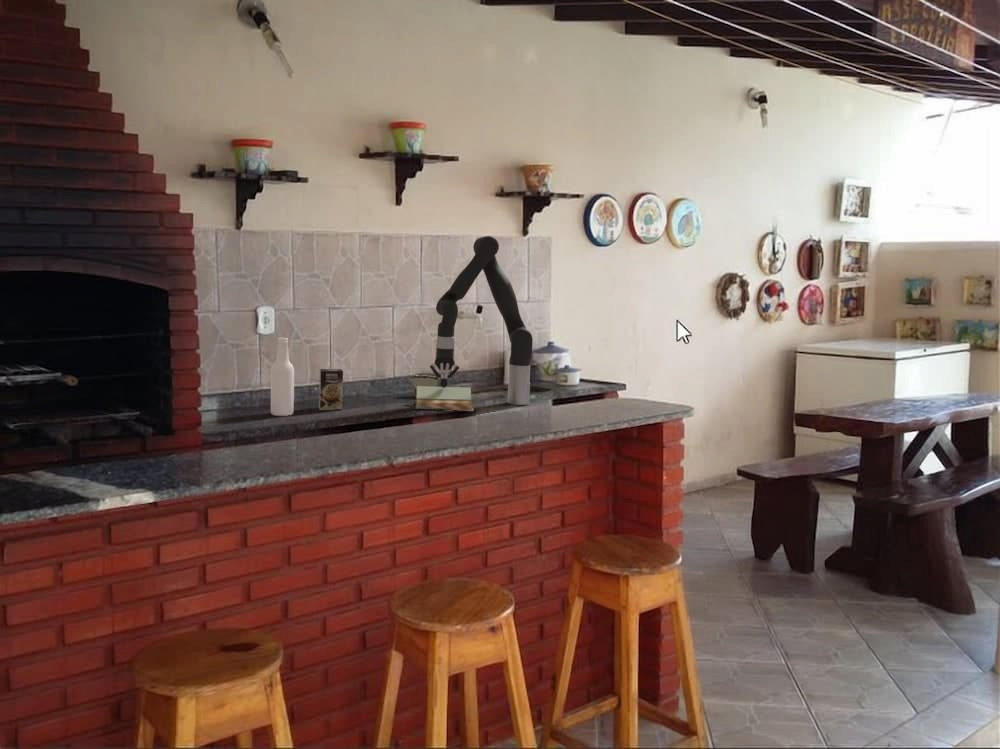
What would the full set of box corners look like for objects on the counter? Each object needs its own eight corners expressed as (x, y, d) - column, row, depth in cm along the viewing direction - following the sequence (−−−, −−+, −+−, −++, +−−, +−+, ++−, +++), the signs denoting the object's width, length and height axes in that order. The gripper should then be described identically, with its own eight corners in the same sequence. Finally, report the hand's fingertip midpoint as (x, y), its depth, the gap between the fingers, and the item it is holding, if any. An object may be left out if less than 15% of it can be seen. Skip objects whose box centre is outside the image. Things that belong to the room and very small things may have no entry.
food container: (440, 395, 424) (441, 373, 422) (438, 398, 418) (439, 375, 416) (413, 394, 425) (414, 372, 423) (411, 396, 419) (411, 374, 417)
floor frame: (471, 403, 408) (471, 396, 407) (473, 411, 392) (474, 403, 391) (414, 402, 405) (414, 395, 405) (414, 409, 389) (415, 402, 389)
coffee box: (319, 410, 379) (320, 370, 376) (318, 407, 385) (319, 368, 382) (342, 410, 381) (343, 370, 379) (341, 407, 387) (341, 368, 385)
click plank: (470, 391, 406) (470, 387, 404) (470, 403, 399) (471, 399, 398) (416, 390, 403) (416, 386, 402) (416, 402, 397) (416, 398, 396)
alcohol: (288, 417, 363) (289, 339, 359) (266, 415, 365) (267, 338, 360) (297, 412, 372) (298, 337, 367) (276, 411, 373) (276, 336, 369)
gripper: (460, 346, 403) (458, 386, 406) (429, 345, 402) (427, 385, 404) (461, 348, 396) (459, 389, 398) (429, 347, 394) (428, 388, 397)
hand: (443, 387), depth 401 cm, fingers closed
